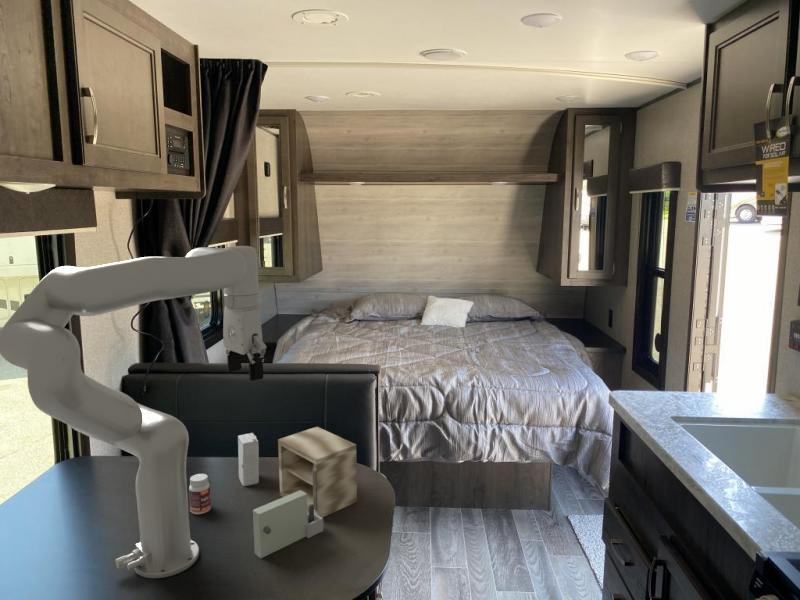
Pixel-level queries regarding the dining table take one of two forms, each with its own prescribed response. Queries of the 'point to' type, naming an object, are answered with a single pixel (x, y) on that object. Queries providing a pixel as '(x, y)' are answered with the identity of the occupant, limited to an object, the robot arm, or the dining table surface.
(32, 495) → the dining table surface
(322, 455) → the cabinet
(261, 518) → the door
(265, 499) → the dining table surface
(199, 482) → the pill bottle
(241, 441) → the skincare box
